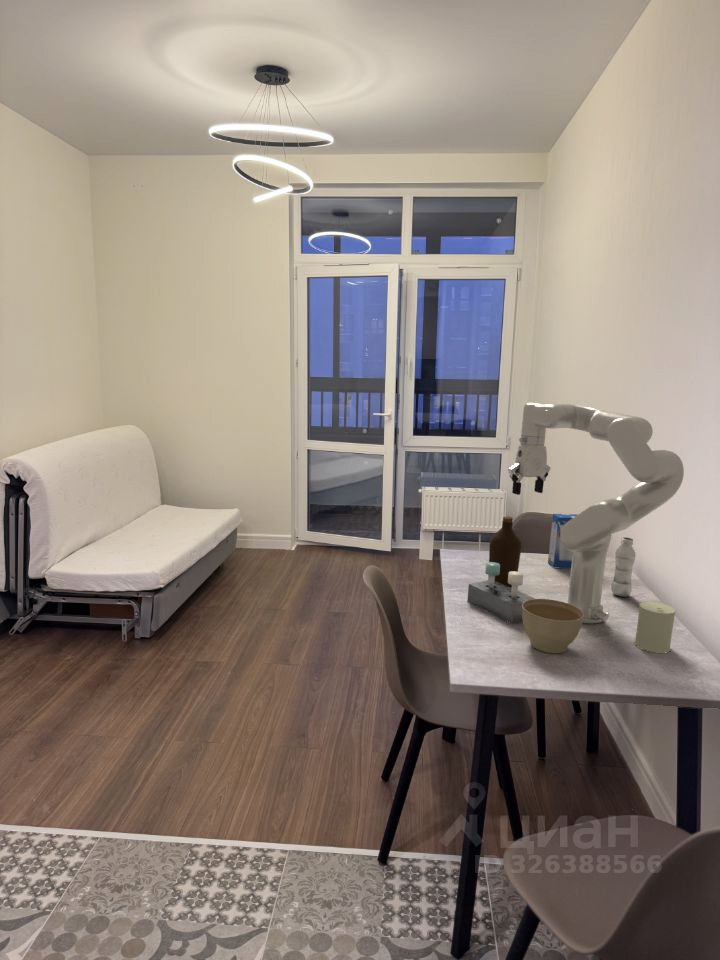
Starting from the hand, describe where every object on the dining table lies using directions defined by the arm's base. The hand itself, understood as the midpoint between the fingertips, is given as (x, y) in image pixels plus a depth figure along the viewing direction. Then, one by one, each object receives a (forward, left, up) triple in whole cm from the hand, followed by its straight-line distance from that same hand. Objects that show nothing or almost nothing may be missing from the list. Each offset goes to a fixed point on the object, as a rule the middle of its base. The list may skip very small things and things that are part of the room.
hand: (527, 493), depth 211 cm
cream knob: (-13, +16, -31) cm, 37 cm away
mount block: (-8, +16, -35) cm, 39 cm away
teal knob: (-3, +16, -31) cm, 35 cm away
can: (-47, -4, -35) cm, 59 cm away
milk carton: (+16, -40, -35) cm, 55 cm away
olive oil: (+7, +1, -35) cm, 35 cm away
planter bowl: (-34, +23, -35) cm, 54 cm away
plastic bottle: (-16, -32, -35) cm, 50 cm away
